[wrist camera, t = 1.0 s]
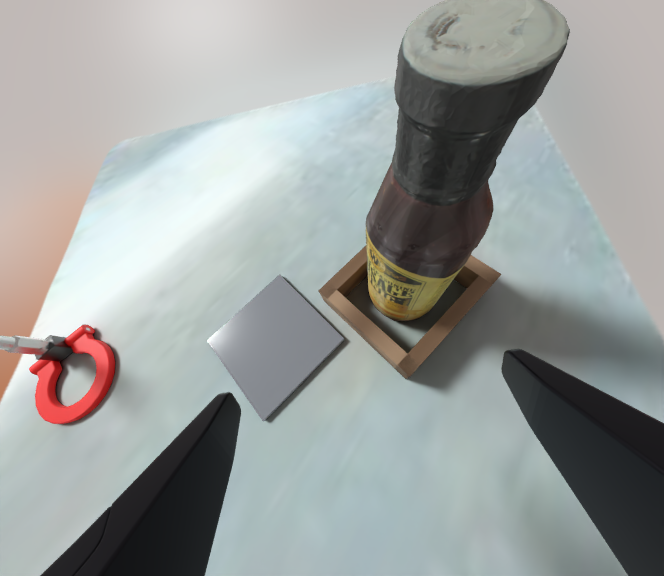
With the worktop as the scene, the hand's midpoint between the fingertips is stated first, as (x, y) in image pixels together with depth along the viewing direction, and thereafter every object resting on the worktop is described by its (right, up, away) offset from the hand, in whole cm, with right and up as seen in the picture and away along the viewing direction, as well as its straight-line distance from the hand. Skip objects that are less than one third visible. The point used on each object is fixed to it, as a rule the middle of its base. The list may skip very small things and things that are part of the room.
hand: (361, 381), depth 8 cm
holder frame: (+6, +2, +16) cm, 17 cm away
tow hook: (-28, -7, +19) cm, 35 cm away
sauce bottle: (+6, +2, +16) cm, 18 cm away
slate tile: (-7, -2, +17) cm, 18 cm away
